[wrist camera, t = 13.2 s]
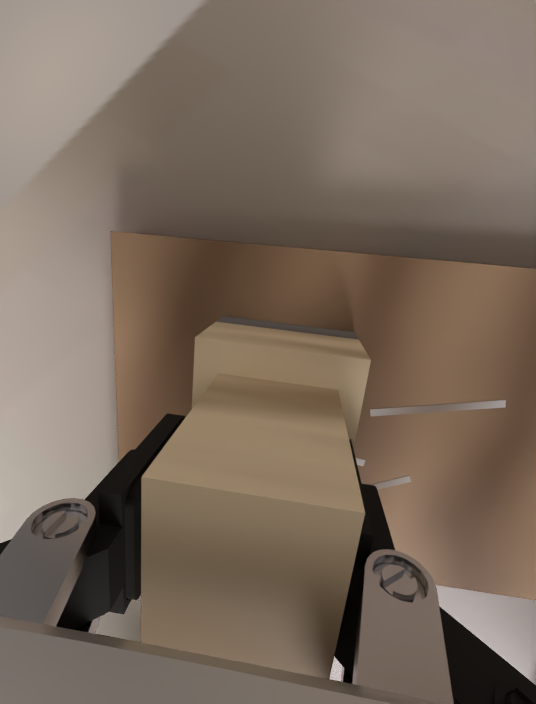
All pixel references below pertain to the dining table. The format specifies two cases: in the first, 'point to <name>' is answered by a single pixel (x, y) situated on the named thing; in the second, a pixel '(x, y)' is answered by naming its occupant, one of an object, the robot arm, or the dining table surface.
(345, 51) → the dining table surface
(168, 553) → the block
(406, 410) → the walnut board
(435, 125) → the dining table surface
